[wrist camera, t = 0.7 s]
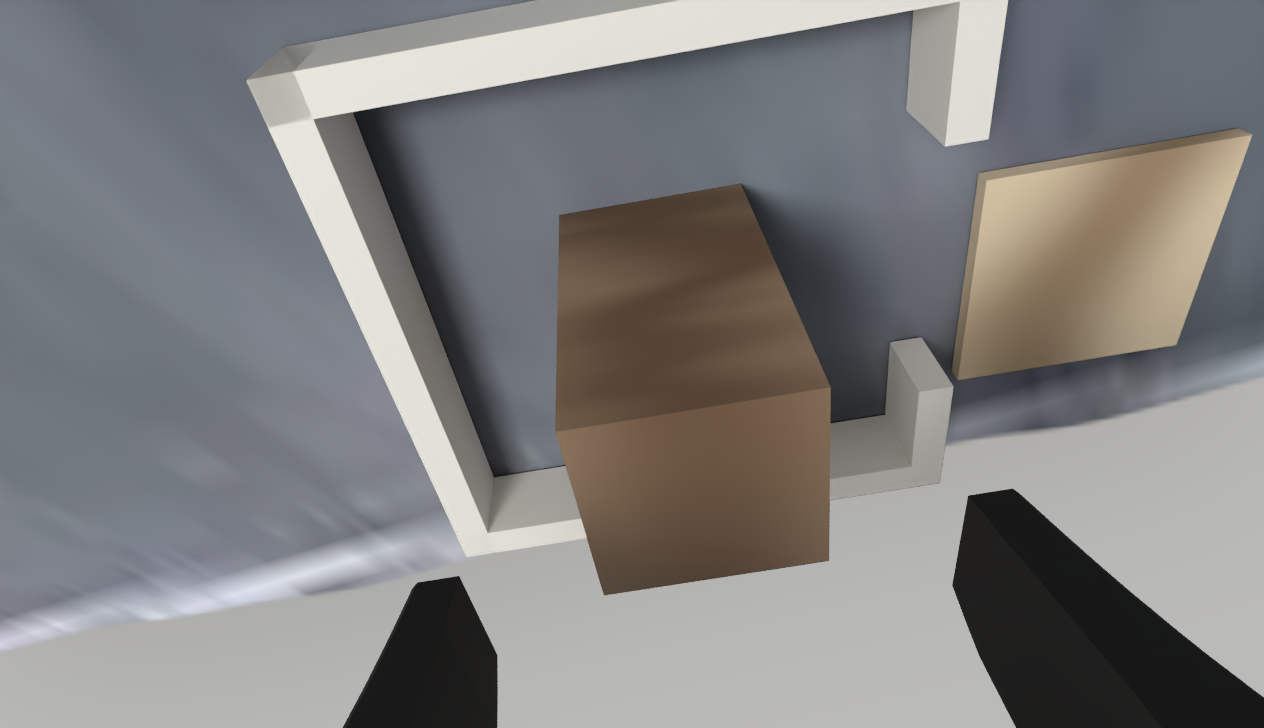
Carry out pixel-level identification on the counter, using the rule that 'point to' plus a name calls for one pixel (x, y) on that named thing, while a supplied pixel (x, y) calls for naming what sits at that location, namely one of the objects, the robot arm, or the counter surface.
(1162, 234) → the cork trivet
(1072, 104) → the counter surface
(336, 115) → the white open square frame
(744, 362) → the walnut block
